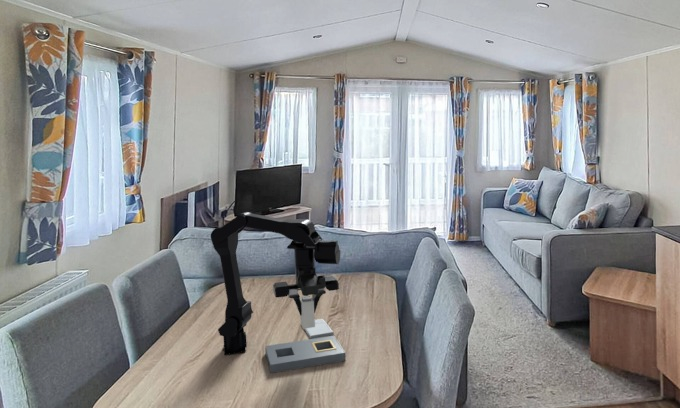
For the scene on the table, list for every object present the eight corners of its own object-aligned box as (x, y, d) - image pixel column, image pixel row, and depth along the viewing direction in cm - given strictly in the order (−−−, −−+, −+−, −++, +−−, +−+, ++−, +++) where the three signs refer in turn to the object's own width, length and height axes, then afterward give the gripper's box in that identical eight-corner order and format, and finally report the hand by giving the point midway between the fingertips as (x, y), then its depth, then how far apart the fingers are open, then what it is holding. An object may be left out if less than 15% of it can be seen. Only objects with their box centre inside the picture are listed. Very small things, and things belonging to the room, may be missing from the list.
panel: (270, 373, 120) (270, 364, 120) (265, 353, 131) (265, 345, 131) (345, 360, 126) (345, 351, 126) (334, 343, 138) (334, 335, 137)
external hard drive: (310, 340, 141) (301, 325, 153) (334, 336, 144) (323, 322, 155) (310, 335, 141) (301, 321, 152) (333, 331, 143) (322, 317, 155)
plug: (302, 328, 125) (301, 300, 124) (300, 324, 129) (299, 296, 127) (315, 326, 126) (313, 298, 125) (312, 322, 130) (311, 295, 128)
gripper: (276, 274, 115) (279, 329, 117) (343, 266, 120) (345, 319, 122) (271, 263, 125) (274, 314, 127) (332, 257, 130) (334, 306, 132)
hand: (307, 314), depth 127 cm, fingers closed on plug, 4 cm apart
